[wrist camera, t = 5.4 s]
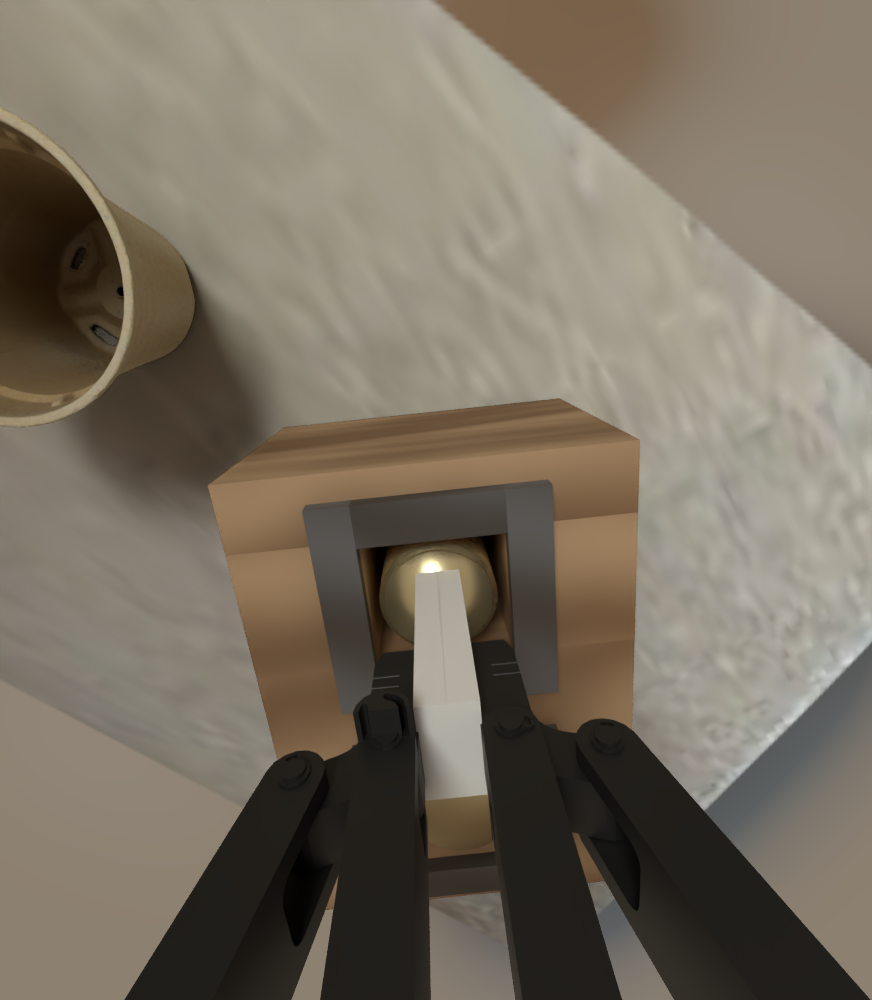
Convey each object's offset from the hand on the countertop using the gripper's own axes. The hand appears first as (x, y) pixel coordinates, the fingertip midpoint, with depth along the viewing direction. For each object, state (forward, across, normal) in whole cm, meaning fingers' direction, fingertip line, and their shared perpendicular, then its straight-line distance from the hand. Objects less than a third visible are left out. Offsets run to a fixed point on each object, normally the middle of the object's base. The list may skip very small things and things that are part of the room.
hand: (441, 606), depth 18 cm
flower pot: (+11, -13, +12) cm, 21 cm away
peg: (+8, 0, 0) cm, 8 cm away
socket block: (+10, 0, -5) cm, 12 cm away
